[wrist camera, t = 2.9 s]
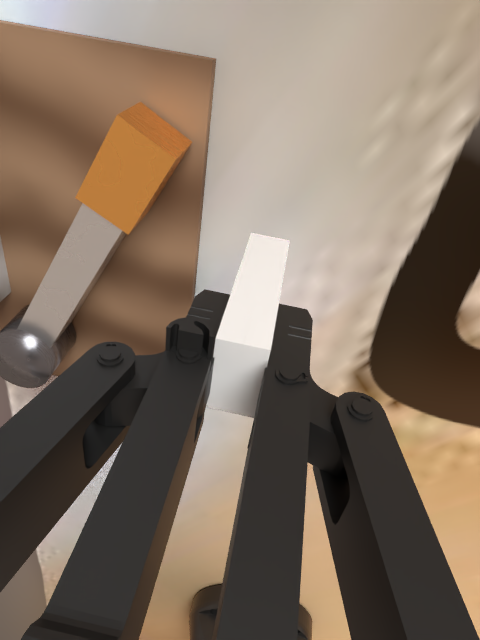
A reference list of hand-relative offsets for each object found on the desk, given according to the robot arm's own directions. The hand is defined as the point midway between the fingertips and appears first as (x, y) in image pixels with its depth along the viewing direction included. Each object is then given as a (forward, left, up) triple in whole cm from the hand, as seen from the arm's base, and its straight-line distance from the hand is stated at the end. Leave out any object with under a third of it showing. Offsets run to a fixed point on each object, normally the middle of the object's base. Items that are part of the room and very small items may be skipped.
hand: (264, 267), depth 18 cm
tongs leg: (-6, +11, -9) cm, 16 cm away
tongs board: (-6, +14, -10) cm, 18 cm away
